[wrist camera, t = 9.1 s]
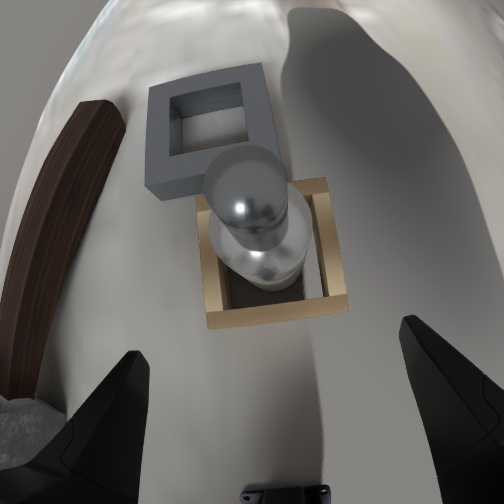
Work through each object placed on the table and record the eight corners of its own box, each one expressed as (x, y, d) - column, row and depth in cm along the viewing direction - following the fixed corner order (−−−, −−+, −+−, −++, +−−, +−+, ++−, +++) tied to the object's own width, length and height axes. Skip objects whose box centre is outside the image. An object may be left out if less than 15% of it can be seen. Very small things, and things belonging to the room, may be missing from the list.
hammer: (112, 147, 29) (32, 431, 20) (58, 73, 18) (-56, 442, 9) (151, 149, 28) (67, 455, 19) (101, 64, 17) (-22, 481, 9)
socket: (282, 180, 22) (280, 160, 19) (161, 201, 22) (144, 186, 20) (264, 86, 23) (261, 62, 20) (162, 107, 24) (149, 87, 21)
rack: (340, 311, 19) (349, 311, 17) (219, 327, 20) (207, 329, 17) (321, 194, 21) (325, 177, 18) (207, 211, 22) (195, 197, 19)
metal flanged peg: (307, 286, 20) (335, 245, 7) (246, 294, 20) (175, 268, 8) (298, 227, 21) (305, 110, 8) (239, 236, 21) (170, 133, 9)
